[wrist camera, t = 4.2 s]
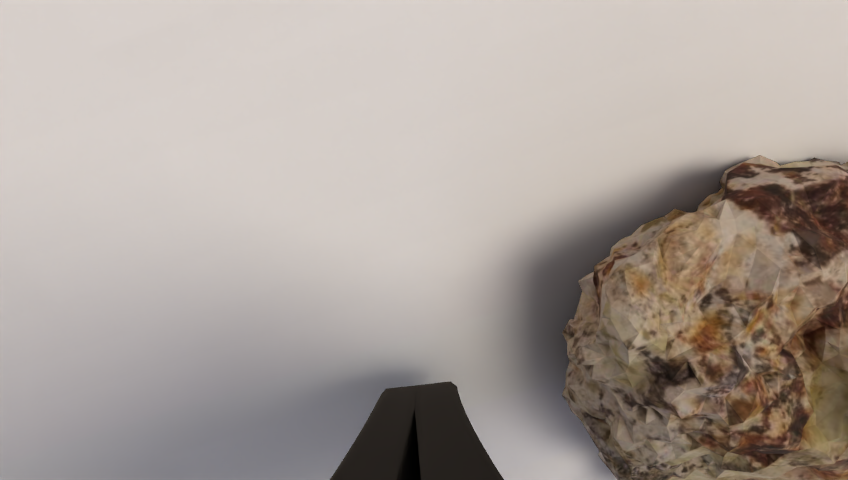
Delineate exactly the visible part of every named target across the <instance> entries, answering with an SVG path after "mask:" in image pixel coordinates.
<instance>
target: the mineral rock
mask: <svg viewBox="0 0 848 480" xmlns="http://www.w3.org/2000/svg"><path fill="white" fill-rule="evenodd" d="M720 184H721V186H722V188H721V189H720V191H719V192H718V193H714V194H711V195H709V196H708V197H707V198H706V199H705V200H703V201H702V202H701V203H700V204H699V206H698V209H697V211H696V212H692V213H689V212H685V211H681V210H678V209H674V210H672V211H671V212H670V213H668V214H667V215H665V216H663V217H660V218H658V219H655V220H653V221H650V222H648V223H645V224H643V225H641V226H640V227H639V228H638V229H637V230H636V231H635V232H634V233H633V234H632V235H631V236H628V237H624V238H622V239H621V240H620V241H619V242H617V243H616V244H615V245H614V246H612V247H611V251H610V256H608V257H607V258H605V259H604V260H602V261H601V262H599V263H598V264H596V265H595V266H594V272H592V273H589V274H588V275H586V276H585V277H584V278H582V279H581V280H579V284H580V287H581V290H582V294H581V298H580V301H579V305H578V308H577V312H576V314H575V317H574V319H570V320H569V321H568V323H567V325H566V327H565V329H564V330H563V332H562V334H563V336H564V338H565V340H566V342H567V356H568V358H569V361H570V362H569V365H568V368H567V371H566V382H565V388H564V391H563V394H562V396H563V397H564V399H565V400H566V401H567V403H568V405H569V407H570V409H571V411H572V412H573V413H574V414H575V415H576V416H577V417H578V418H579V419H580V420H581V422H582V423H583V425H584V426H585V428H586V430H587V431H588V433H589V435H590V436H591V438H592V440H593V441H594V443H595V445H596V446H597V448H598V449H599V454H598V456H599V457H600V458H601V459H602V461H603V462H604V463H605V464H606V466H607V467H608V468H609V469H610V471H611V472H612V473H613V474H614V475H615V477H616V478H617V480H848V162H846V163H844V164H842V165H840V163H839V162H832V161H824V160H820V159H817V158H813V159H811V160H810V161H804V162H792V163H788V164H785V165H781V166H780V165H779V164H778V163H777V162H775V161H772V160H770V159H767V158H765V157H763V156H760V155H759V156H757V157H754V158H752V159H749V160H747V161H744V162H742V163H740V164H737V165H735V166H732V167H730V168H728V169H727V170H725V172H724V174H723V176H722V178H721V180H720Z"/></svg>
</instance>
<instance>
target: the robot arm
mask: <svg viewBox="0 0 848 480" xmlns="http://www.w3.org/2000/svg"><path fill="white" fill-rule="evenodd" d="M330 480H504V479H503V478H502V476H501V475H500V473H499V472H498V470H497V468H496V467H495V465H494V464H493V462H492V460H491V459H490V457H489V455H488V454H487V452H486V450H485V449H484V447H483V445H482V443H481V442H480V440H479V438H478V437H477V435H476V433H475V431H474V429H473V427H472V425H471V423H470V421H469V419H468V417H467V415H466V413H465V410H464V408H463V406H462V403H461V400H460V397H459V394H458V390H457V386H456V385H454V384H453V383H452V382H443V383H434V384H425V385H416V386H407V387H398V388H389V389H386V390H385V391H384V392H383V393H382V394H381V396H380V398H379V400H378V401H377V403H376V405H375V407H374V409H373V411H372V413H371V414H370V416H369V418H368V420H367V421H366V423H365V425H364V427H363V428H362V430H361V432H360V433H359V435H358V437H357V438H356V440H355V442H354V443H353V445H352V446H351V448H350V450H349V451H348V453H347V454H346V456H345V457H344V459H343V461H342V462H341V464H340V465H339V467H338V468H337V470H336V471H335V473H334V474H333V476H332V477H331V479H330Z"/></svg>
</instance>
